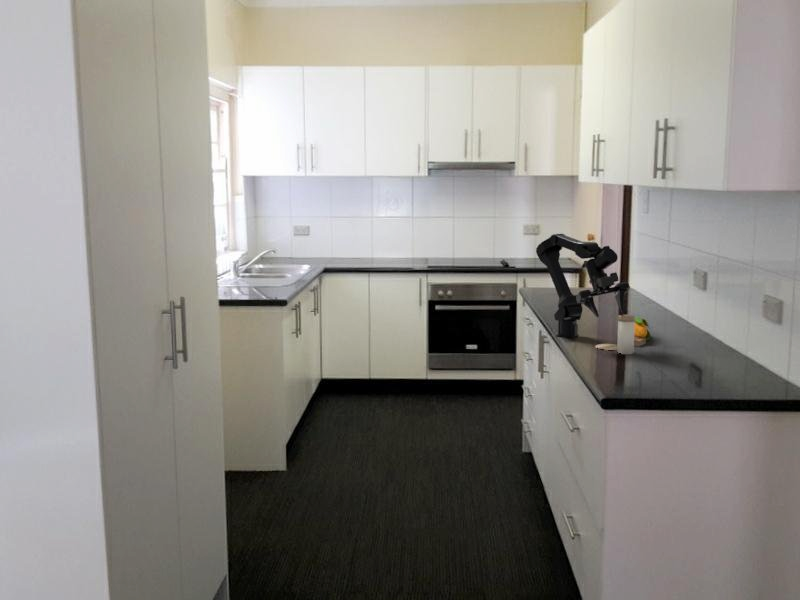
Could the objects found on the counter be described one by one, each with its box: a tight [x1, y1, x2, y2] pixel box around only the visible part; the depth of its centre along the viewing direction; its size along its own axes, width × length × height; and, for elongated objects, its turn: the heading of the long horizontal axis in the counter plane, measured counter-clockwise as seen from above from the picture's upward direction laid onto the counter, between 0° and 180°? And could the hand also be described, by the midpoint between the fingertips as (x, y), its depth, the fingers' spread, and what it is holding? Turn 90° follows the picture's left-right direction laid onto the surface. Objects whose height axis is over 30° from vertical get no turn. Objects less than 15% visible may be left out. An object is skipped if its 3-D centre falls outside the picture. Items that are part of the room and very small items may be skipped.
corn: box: [634, 316, 651, 341], centre depth 311 cm, size 7×8×20 cm
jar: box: [616, 314, 636, 355], centre depth 288 cm, size 6×6×13 cm
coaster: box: [595, 343, 617, 351], centre depth 297 cm, size 9×9×1 cm
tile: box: [634, 337, 647, 347], centre depth 302 cm, size 6×6×2 cm
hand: (610, 314), depth 295 cm, fingers open, 9 cm apart
